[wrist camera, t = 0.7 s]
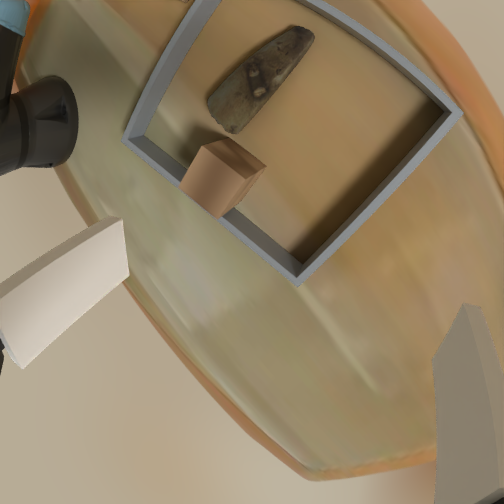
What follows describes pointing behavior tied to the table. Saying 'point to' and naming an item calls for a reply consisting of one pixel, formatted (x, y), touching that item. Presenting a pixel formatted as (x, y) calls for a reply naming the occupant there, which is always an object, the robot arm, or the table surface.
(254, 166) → the walnut block
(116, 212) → the table surface
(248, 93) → the stone
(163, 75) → the parts tray
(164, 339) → the table surface
